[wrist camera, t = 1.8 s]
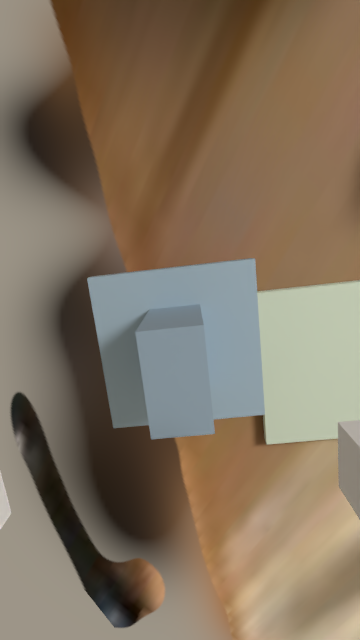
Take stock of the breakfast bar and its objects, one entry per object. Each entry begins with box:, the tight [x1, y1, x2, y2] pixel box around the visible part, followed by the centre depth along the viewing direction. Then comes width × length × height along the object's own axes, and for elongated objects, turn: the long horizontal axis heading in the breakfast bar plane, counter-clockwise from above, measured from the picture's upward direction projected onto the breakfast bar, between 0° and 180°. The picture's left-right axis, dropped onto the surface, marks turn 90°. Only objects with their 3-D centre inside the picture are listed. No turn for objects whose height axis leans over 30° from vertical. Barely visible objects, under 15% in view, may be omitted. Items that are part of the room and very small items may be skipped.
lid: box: [87, 258, 265, 439], centre depth 24 cm, size 13×13×8 cm
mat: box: [257, 280, 360, 444], centre depth 33 cm, size 16×14×1 cm
